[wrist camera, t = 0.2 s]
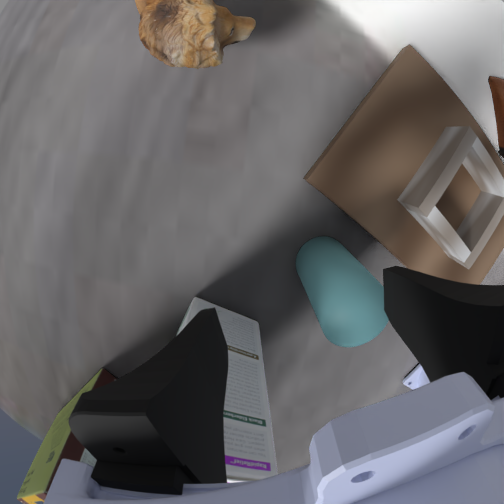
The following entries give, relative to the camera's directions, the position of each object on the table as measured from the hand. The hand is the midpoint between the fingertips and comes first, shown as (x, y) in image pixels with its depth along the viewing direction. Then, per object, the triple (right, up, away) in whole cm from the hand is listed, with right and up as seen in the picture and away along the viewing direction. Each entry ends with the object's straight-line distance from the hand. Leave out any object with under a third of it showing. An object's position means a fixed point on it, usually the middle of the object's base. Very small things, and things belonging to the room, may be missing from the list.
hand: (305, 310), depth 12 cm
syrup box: (-5, -4, +12) cm, 14 cm away
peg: (+3, +2, +10) cm, 11 cm away
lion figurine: (-7, +19, +4) cm, 21 cm away
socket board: (+14, +7, +9) cm, 18 cm away
